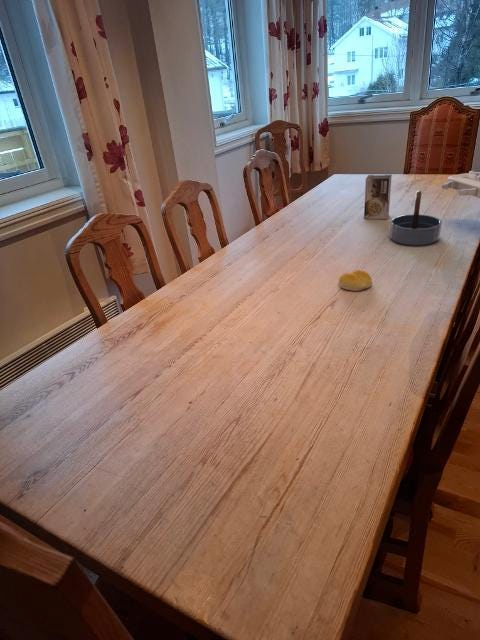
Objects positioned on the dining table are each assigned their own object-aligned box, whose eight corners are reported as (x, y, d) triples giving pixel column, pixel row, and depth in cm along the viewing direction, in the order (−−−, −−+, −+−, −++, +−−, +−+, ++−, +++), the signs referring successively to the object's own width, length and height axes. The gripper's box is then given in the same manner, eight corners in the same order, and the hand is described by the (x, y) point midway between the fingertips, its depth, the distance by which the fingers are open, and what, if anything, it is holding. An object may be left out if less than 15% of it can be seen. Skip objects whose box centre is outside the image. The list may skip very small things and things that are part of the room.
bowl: (437, 231, 154) (440, 214, 151) (440, 247, 141) (443, 229, 138) (390, 230, 159) (391, 214, 156) (388, 245, 146) (390, 228, 143)
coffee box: (389, 215, 174) (392, 174, 166) (386, 219, 169) (390, 177, 161) (366, 214, 178) (368, 174, 170) (363, 218, 173) (365, 177, 165)
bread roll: (333, 283, 125) (334, 270, 123) (360, 277, 127) (361, 264, 125) (348, 294, 118) (349, 281, 116) (377, 287, 120) (378, 274, 118)
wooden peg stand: (422, 232, 152) (428, 188, 144) (423, 238, 147) (429, 193, 139) (404, 232, 154) (409, 188, 146) (404, 237, 149) (409, 193, 141)
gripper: (508, 200, 140) (470, 206, 138) (466, 187, 157) (432, 192, 155) (512, 180, 137) (473, 186, 135) (469, 169, 154) (434, 174, 152)
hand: (451, 189), depth 145 cm, fingers open, 8 cm apart
